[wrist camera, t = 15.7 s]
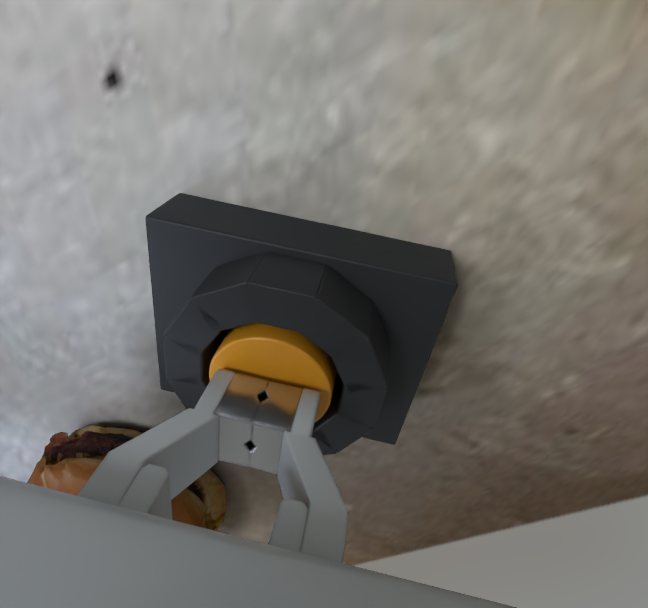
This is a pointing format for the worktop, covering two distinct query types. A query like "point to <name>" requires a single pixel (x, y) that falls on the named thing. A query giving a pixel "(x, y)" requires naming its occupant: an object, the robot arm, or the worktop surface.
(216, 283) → the button box
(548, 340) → the worktop surface
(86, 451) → the burger
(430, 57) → the worktop surface
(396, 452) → the worktop surface
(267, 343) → the button
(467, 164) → the worktop surface
